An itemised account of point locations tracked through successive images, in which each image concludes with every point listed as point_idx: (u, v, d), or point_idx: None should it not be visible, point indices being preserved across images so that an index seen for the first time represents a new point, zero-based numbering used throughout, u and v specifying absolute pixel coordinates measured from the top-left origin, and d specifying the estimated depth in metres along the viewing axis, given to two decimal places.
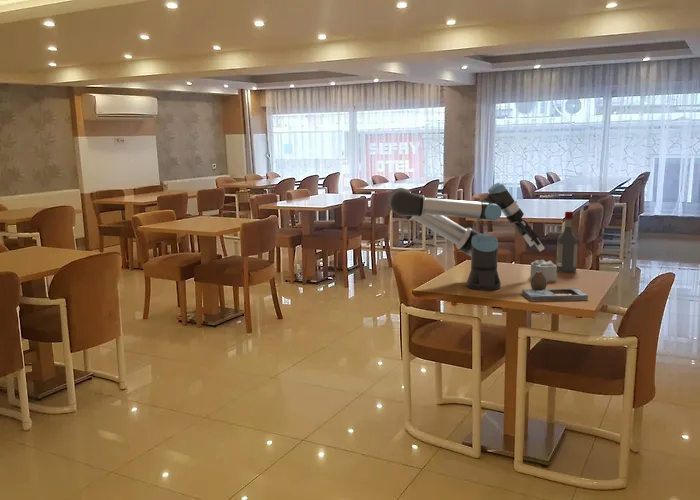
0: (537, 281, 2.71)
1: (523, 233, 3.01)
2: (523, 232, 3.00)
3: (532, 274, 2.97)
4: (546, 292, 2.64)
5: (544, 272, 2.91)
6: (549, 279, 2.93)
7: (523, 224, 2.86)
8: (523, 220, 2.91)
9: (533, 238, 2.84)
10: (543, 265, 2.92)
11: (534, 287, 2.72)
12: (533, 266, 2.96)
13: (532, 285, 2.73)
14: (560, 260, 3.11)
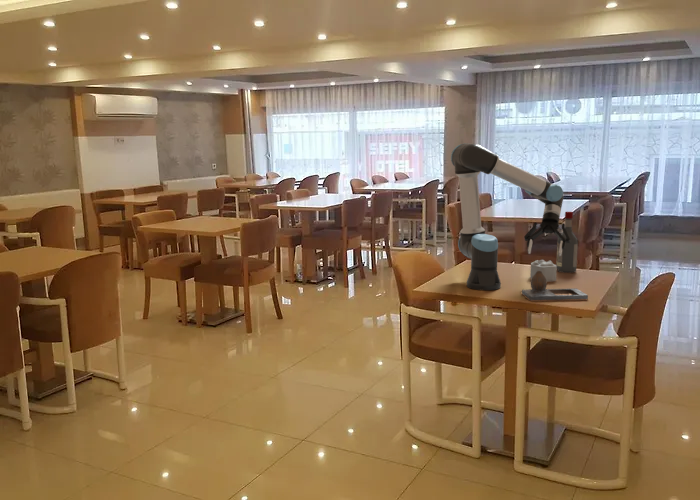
0: (537, 281, 2.71)
1: None
2: (533, 238, 2.88)
3: (532, 274, 2.97)
4: (546, 292, 2.64)
5: (544, 272, 2.91)
6: (549, 279, 2.93)
7: (564, 226, 2.85)
8: None
9: (569, 238, 2.80)
10: (543, 265, 2.92)
11: (534, 287, 2.72)
12: (533, 266, 2.96)
13: (532, 285, 2.73)
14: (560, 260, 3.11)
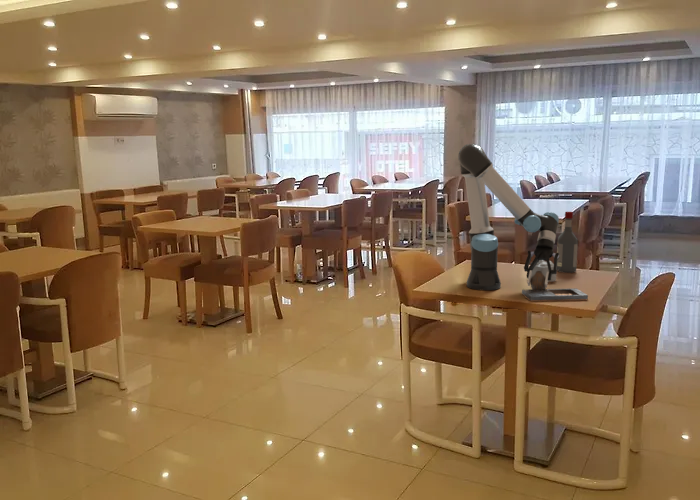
0: (537, 281, 2.71)
1: None
2: (532, 267, 2.77)
3: (532, 274, 2.97)
4: (546, 292, 2.64)
5: (544, 272, 2.91)
6: None
7: (558, 256, 2.76)
8: None
9: (556, 269, 2.71)
10: (543, 265, 2.92)
11: (534, 287, 2.72)
12: None
13: (532, 285, 2.73)
14: (560, 260, 3.11)
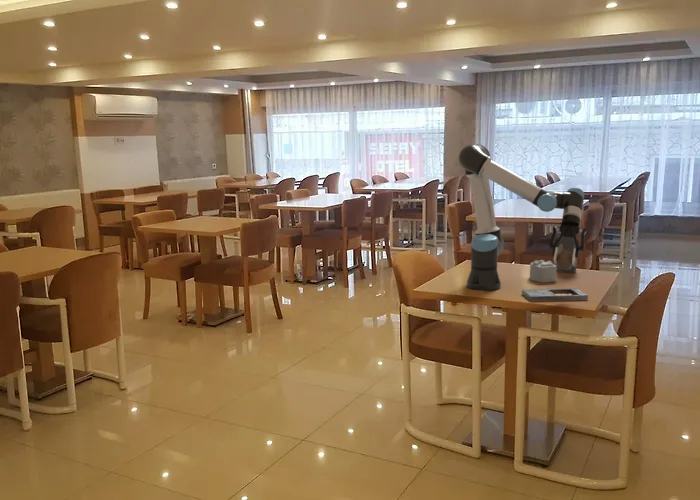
0: (564, 258, 2.59)
1: None
2: (558, 244, 2.64)
3: (532, 274, 2.96)
4: (546, 292, 2.64)
5: (544, 272, 2.90)
6: (549, 279, 2.92)
7: (585, 232, 2.63)
8: None
9: (583, 246, 2.59)
10: (543, 265, 2.91)
11: (561, 264, 2.60)
12: (533, 266, 2.95)
13: (558, 262, 2.61)
14: None
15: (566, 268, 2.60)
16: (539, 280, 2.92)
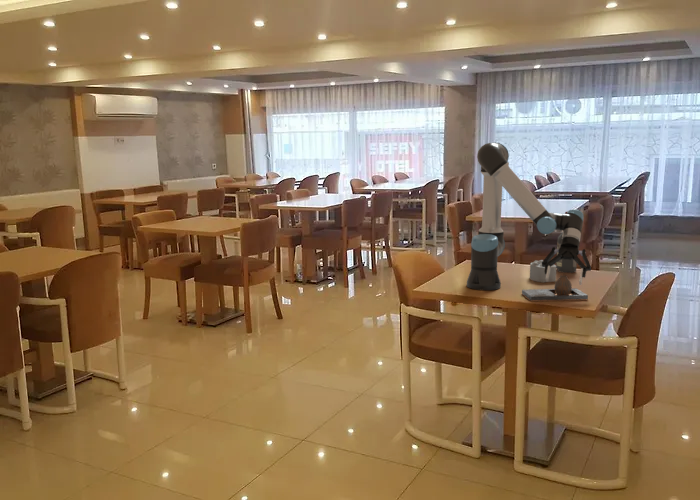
0: (562, 286, 2.61)
1: (548, 265, 2.68)
2: (551, 264, 2.68)
3: (532, 274, 2.96)
4: (546, 292, 2.64)
5: (544, 272, 2.90)
6: (549, 279, 2.92)
7: (585, 252, 2.65)
8: None
9: (590, 266, 2.60)
10: None
11: (558, 292, 2.62)
12: (533, 266, 2.95)
13: (556, 290, 2.63)
14: (560, 260, 3.11)
15: None
16: (539, 280, 2.92)
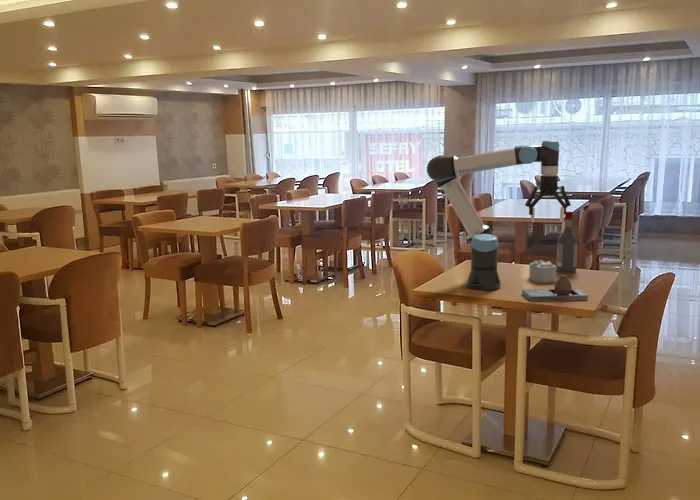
0: (562, 286, 2.61)
1: None
2: (534, 204, 2.83)
3: (531, 275, 2.96)
4: (546, 292, 2.64)
5: (544, 272, 2.90)
6: (549, 280, 2.92)
7: None
8: None
9: (570, 204, 2.83)
10: (543, 266, 2.91)
11: (558, 292, 2.62)
12: (532, 266, 2.94)
13: (556, 290, 2.63)
14: (560, 260, 3.11)
15: None
16: (539, 280, 2.91)
